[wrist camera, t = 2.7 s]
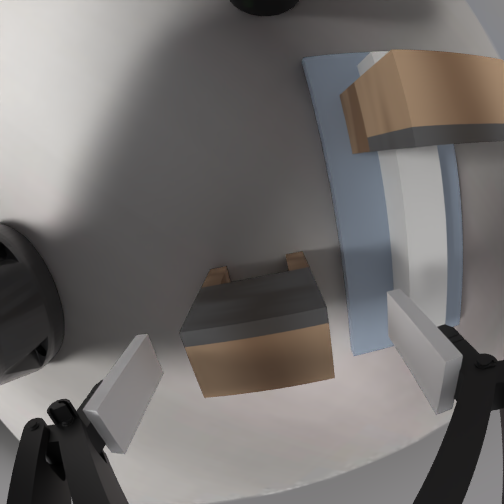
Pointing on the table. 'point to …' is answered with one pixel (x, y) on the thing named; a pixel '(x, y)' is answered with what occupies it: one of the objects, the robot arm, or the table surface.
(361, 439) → the table surface
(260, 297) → the two-tone tabbed box
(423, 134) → the fixed jaw
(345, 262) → the rail
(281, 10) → the cup
